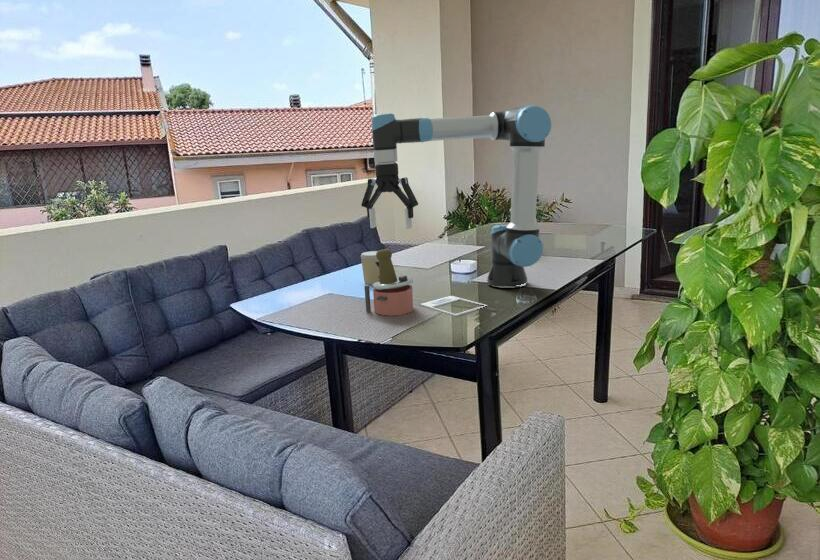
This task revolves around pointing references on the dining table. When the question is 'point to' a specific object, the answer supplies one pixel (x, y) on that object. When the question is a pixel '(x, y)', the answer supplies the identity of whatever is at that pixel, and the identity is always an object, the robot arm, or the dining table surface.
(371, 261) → the coffee cup
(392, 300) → the pot
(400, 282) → the lid
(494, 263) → the robot arm
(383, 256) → the cork
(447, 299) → the photo frame
